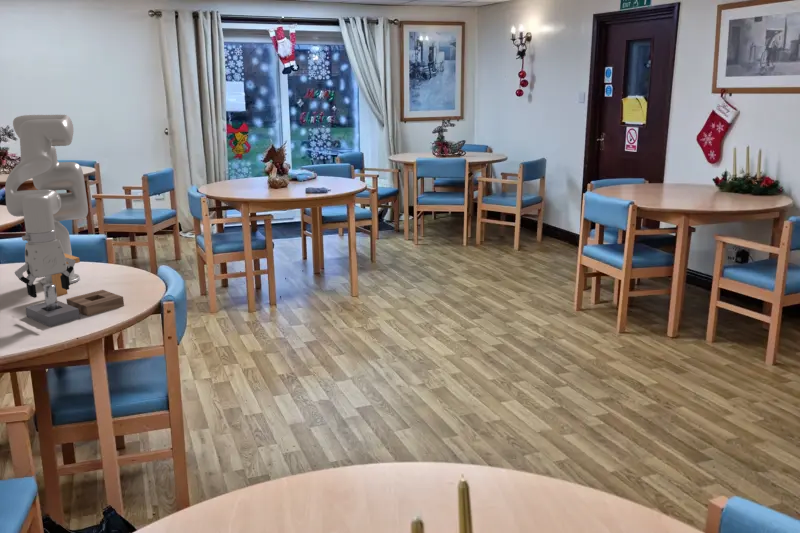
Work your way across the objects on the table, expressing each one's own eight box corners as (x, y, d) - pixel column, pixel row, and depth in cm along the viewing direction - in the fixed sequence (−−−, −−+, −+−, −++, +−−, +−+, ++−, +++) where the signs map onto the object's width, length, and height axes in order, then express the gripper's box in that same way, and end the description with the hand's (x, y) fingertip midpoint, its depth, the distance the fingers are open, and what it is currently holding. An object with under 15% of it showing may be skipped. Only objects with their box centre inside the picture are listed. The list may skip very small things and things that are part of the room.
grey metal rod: (45, 317, 205) (41, 285, 202) (56, 314, 207) (52, 283, 205) (50, 319, 203) (46, 287, 200) (61, 317, 205) (57, 285, 203)
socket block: (68, 311, 214) (66, 298, 212) (103, 301, 223) (102, 289, 222) (88, 319, 207) (86, 306, 205) (124, 308, 216) (123, 296, 215)
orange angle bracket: (53, 296, 227) (47, 253, 223) (63, 293, 230) (58, 251, 226) (74, 304, 219) (68, 260, 215) (85, 301, 222) (79, 257, 218)
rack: (27, 319, 206) (25, 307, 205) (56, 311, 213) (55, 299, 212) (50, 329, 198) (48, 316, 197) (80, 321, 205) (78, 308, 204)
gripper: (16, 244, 189) (25, 302, 194) (77, 233, 203) (84, 288, 207) (4, 240, 194) (13, 297, 198) (64, 230, 207) (71, 283, 212)
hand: (49, 292), depth 203 cm, fingers open, 9 cm apart
